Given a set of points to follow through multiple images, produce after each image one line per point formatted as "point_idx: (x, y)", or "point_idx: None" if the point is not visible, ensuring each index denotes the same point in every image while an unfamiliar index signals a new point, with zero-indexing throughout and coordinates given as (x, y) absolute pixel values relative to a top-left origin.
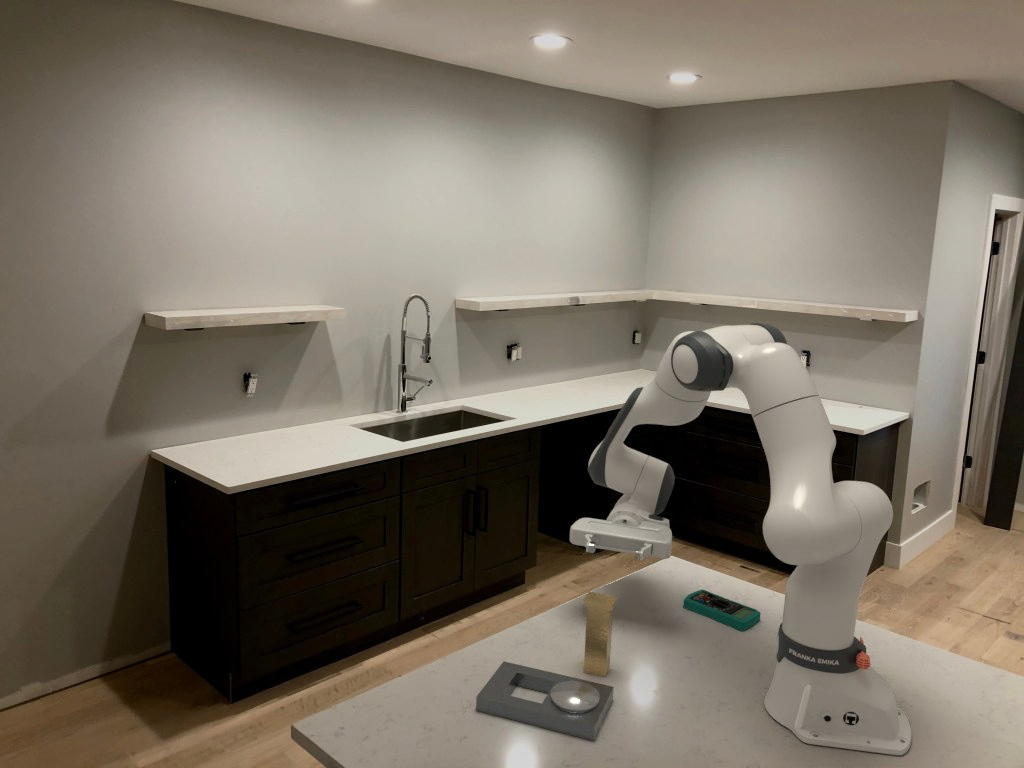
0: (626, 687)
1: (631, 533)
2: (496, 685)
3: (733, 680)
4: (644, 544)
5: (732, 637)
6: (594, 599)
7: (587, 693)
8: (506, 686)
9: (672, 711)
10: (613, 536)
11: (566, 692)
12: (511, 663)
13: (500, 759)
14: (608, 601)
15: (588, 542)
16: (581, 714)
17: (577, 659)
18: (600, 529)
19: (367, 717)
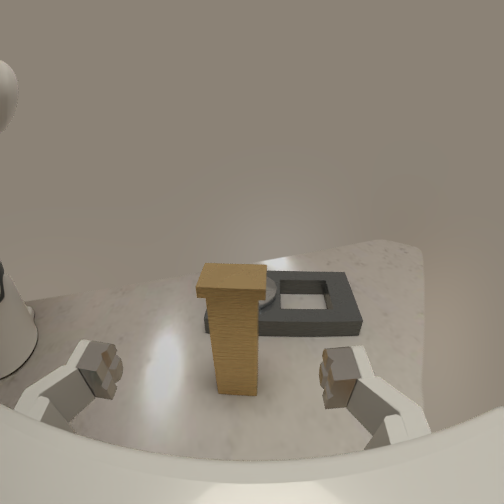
0: (188, 359)
1: (90, 497)
2: (339, 287)
3: None
4: (46, 407)
5: None
6: (245, 269)
7: None
8: (328, 288)
9: (134, 330)
10: (236, 460)
11: None
12: (351, 320)
13: (289, 256)
14: (214, 270)
15: (361, 357)
16: None
17: (278, 402)
18: (372, 497)
19: (404, 261)
